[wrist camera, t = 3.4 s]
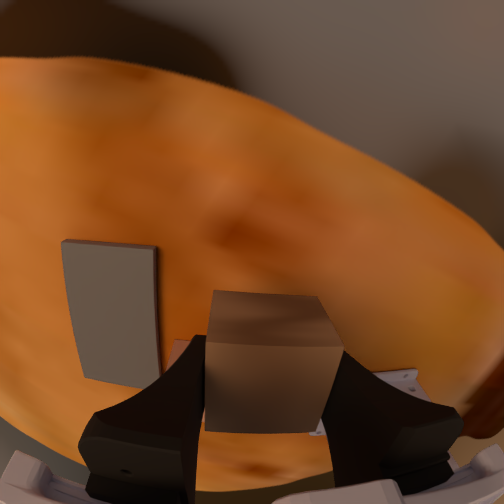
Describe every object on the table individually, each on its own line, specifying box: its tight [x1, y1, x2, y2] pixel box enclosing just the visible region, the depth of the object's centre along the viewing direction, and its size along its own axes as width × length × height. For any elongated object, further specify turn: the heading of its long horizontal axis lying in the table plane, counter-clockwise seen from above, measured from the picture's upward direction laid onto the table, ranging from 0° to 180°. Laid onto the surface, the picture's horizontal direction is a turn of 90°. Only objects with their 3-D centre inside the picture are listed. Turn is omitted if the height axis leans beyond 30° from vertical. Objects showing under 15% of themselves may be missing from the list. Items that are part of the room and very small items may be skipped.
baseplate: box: [61, 239, 162, 389], centre depth 20 cm, size 7×12×1 cm, turn 174°
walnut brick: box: [205, 290, 345, 434], centre depth 12 cm, size 5×5×4 cm
